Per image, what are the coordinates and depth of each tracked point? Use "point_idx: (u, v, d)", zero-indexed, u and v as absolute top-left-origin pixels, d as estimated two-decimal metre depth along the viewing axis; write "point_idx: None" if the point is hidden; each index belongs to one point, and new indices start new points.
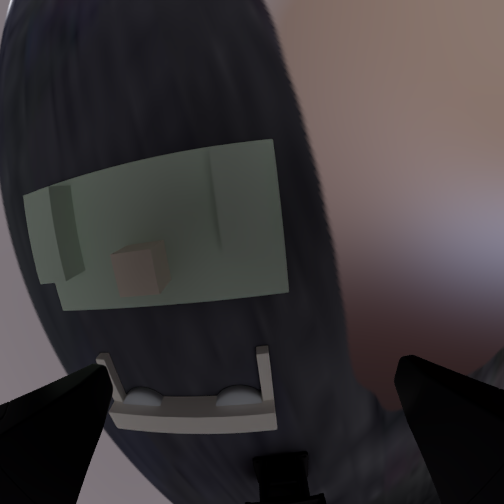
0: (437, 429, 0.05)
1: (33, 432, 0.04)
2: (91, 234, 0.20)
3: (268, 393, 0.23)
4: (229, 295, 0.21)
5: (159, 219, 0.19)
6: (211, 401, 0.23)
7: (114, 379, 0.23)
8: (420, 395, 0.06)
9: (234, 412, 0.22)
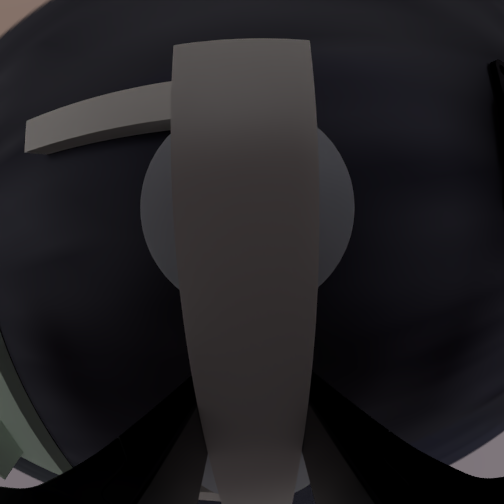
0: None
1: (163, 469, 0.04)
2: None
3: (157, 98, 0.06)
4: None
5: None
6: None
7: None
8: None
9: None
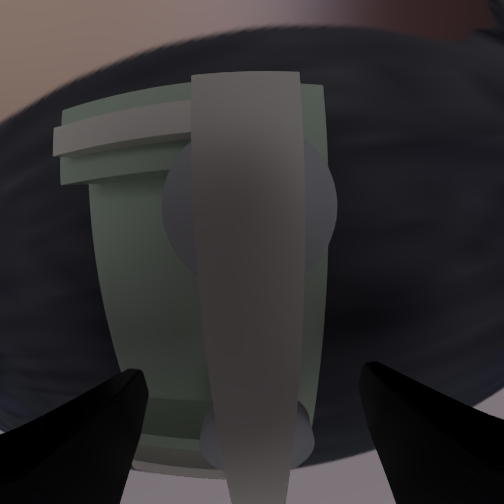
0: (398, 442, 0.05)
1: (74, 448, 0.04)
2: (201, 383, 0.14)
3: (174, 114, 0.07)
4: None
5: (183, 277, 0.13)
6: None
7: (178, 461, 0.11)
8: (380, 405, 0.06)
9: None
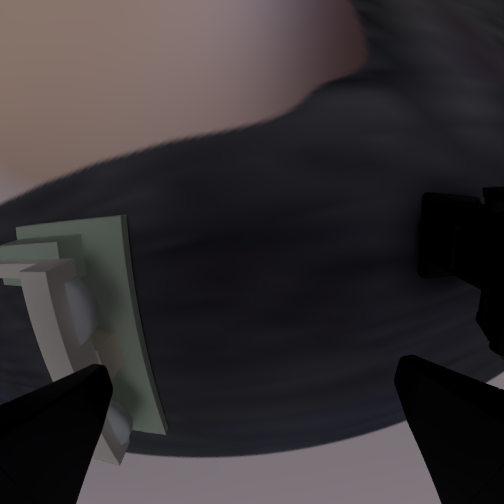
0: (438, 429, 0.05)
1: (33, 432, 0.04)
2: None
3: None
4: (124, 279, 0.18)
5: None
6: None
7: None
8: (420, 395, 0.06)
9: None
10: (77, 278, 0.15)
